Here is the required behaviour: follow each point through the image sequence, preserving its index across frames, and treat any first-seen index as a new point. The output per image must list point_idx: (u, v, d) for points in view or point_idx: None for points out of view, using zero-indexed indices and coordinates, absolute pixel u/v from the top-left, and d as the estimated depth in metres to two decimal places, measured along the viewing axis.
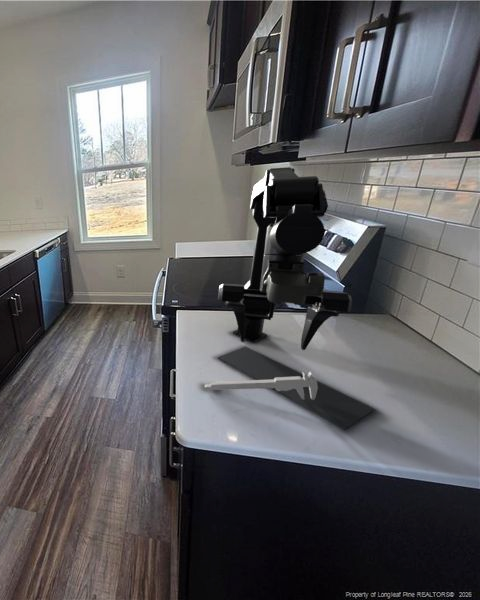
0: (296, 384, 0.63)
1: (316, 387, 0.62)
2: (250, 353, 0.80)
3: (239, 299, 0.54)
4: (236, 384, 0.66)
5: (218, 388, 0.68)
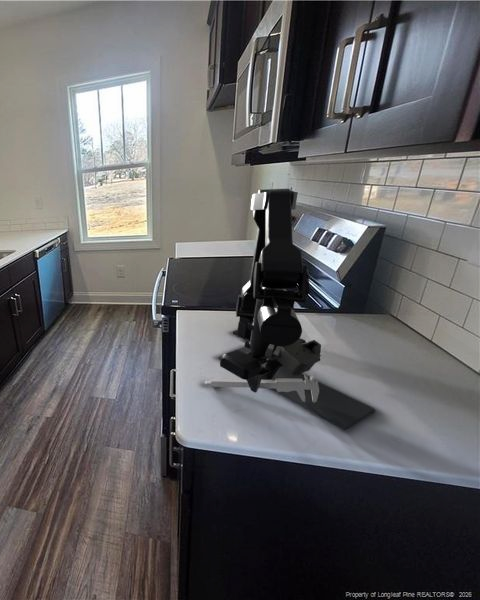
0: (297, 386, 0.62)
1: (317, 390, 0.61)
2: None
3: (258, 372, 0.58)
4: (236, 383, 0.67)
5: (217, 385, 0.69)
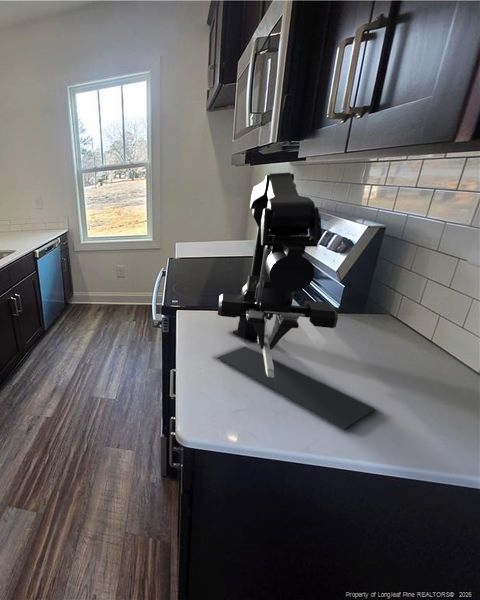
0: None
1: None
2: (250, 353, 0.80)
3: None
4: (270, 355, 0.59)
5: None
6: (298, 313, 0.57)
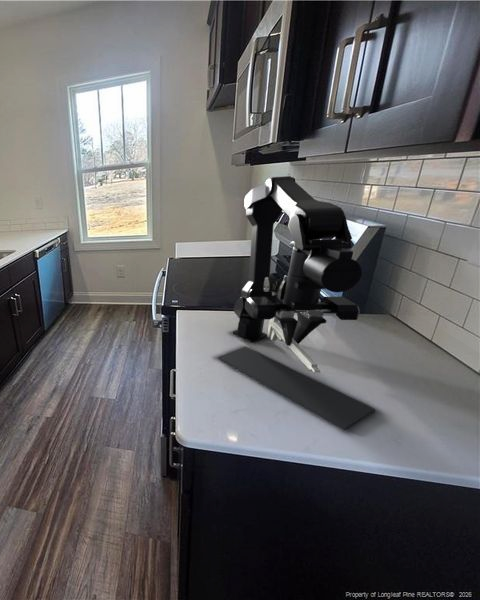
0: None
1: None
2: (250, 353, 0.80)
3: None
4: None
5: None
6: (324, 309, 0.62)
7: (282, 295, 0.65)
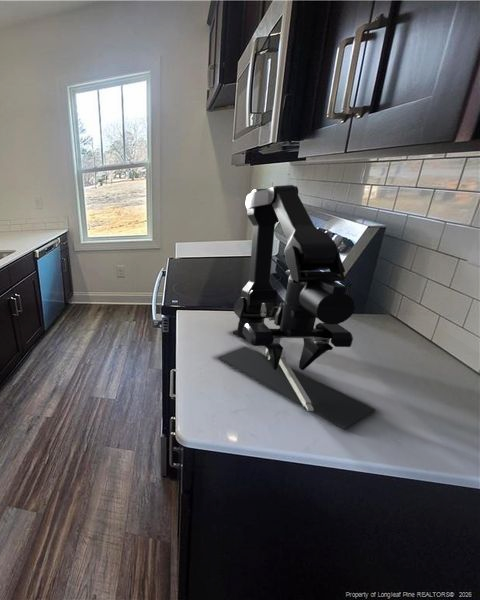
0: None
1: None
2: (250, 353, 0.80)
3: None
4: None
5: None
6: (330, 336, 0.64)
7: (279, 321, 0.67)
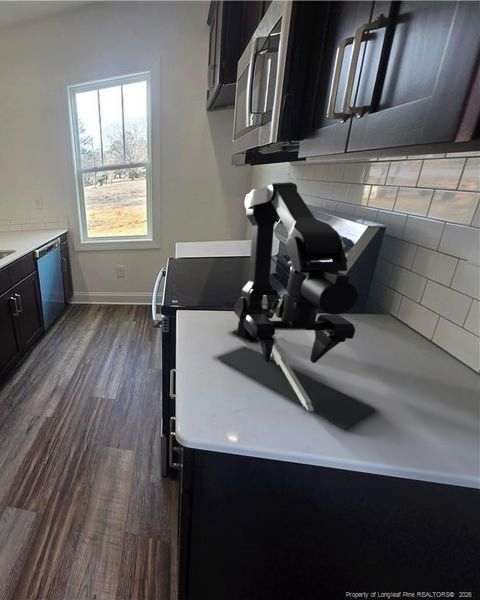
0: None
1: None
2: (250, 353, 0.80)
3: None
4: None
5: None
6: None
7: (280, 313, 0.67)
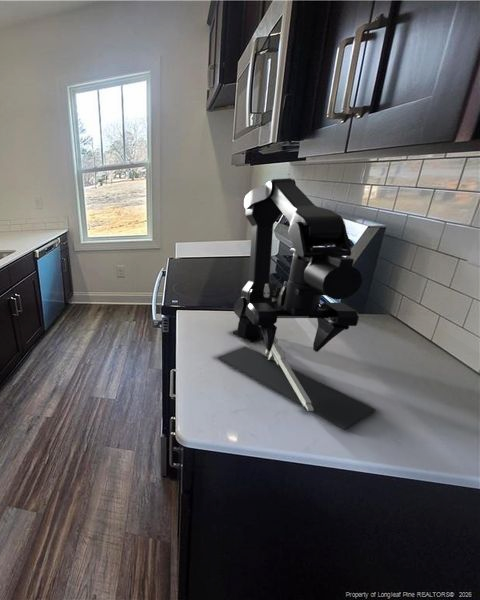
0: None
1: None
2: (250, 353, 0.80)
3: None
4: None
5: None
6: None
7: (282, 301, 0.66)
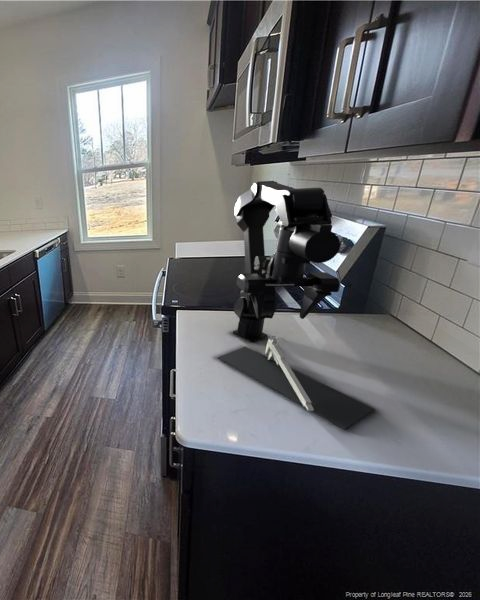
0: None
1: None
2: (250, 353, 0.80)
3: None
4: None
5: None
6: None
7: (271, 271, 0.71)
